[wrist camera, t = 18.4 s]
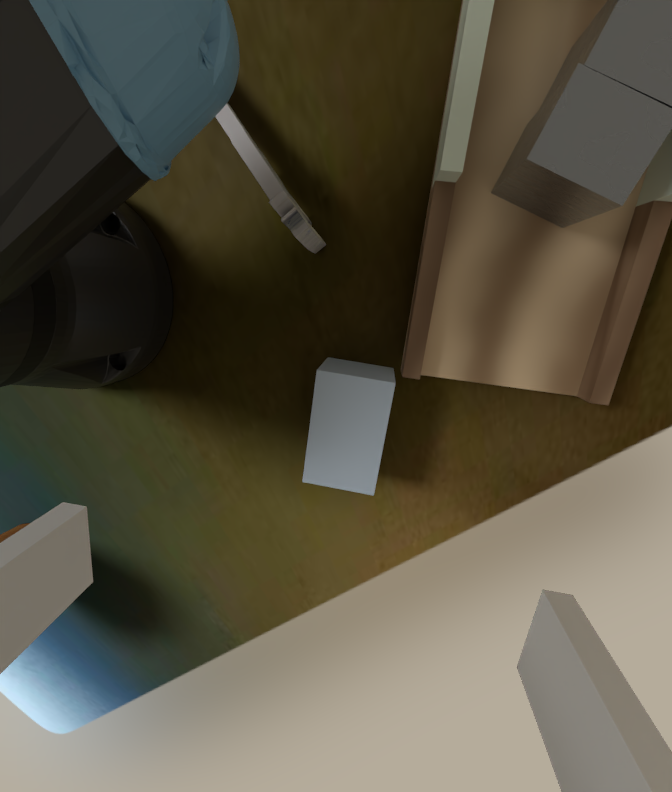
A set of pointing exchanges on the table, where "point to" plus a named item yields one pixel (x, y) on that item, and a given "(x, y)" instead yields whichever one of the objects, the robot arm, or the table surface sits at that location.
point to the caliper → (270, 181)
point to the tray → (665, 174)
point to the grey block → (348, 425)
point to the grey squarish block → (584, 149)
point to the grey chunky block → (627, 47)
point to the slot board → (526, 241)
